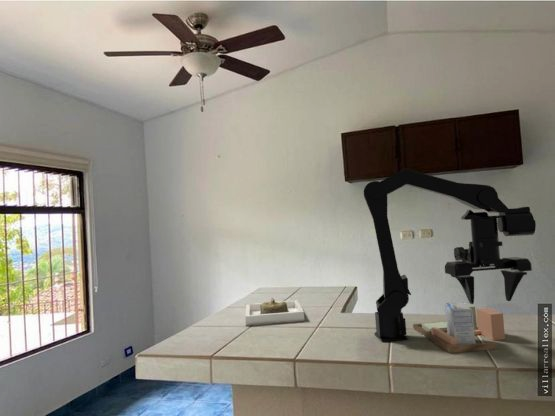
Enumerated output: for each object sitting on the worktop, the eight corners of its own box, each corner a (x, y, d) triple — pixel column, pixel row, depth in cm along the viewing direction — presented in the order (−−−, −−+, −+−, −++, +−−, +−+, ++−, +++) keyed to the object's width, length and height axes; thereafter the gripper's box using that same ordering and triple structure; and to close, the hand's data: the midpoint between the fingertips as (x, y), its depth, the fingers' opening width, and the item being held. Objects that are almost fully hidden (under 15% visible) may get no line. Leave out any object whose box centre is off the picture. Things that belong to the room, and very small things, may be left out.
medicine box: (476, 348, 89) (473, 309, 89) (455, 348, 90) (452, 309, 90) (466, 337, 96) (464, 301, 97) (447, 337, 97) (444, 302, 98)
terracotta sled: (452, 350, 88) (450, 323, 88) (432, 337, 98) (430, 312, 99) (516, 344, 89) (514, 317, 89) (489, 332, 99) (487, 307, 99)
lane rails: (449, 353, 87) (449, 347, 87) (413, 328, 106) (412, 324, 106) (497, 348, 87) (496, 343, 87) (452, 325, 107) (451, 320, 107)
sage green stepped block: (430, 334, 100) (428, 311, 100) (422, 329, 105) (420, 306, 105) (478, 330, 101) (476, 307, 101) (467, 325, 106) (465, 302, 106)
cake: (286, 319, 125) (285, 302, 125) (255, 320, 127) (254, 303, 127) (291, 309, 135) (289, 293, 135) (262, 310, 137) (261, 295, 137)
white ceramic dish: (245, 325, 121) (245, 316, 121) (246, 312, 139) (246, 304, 139) (304, 320, 122) (303, 311, 122) (297, 308, 140) (297, 300, 140)
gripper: (501, 233, 105) (506, 293, 104) (432, 238, 104) (437, 298, 103) (530, 235, 94) (536, 301, 93) (454, 240, 92) (459, 308, 92)
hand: (490, 302), depth 96 cm, fingers open, 9 cm apart
